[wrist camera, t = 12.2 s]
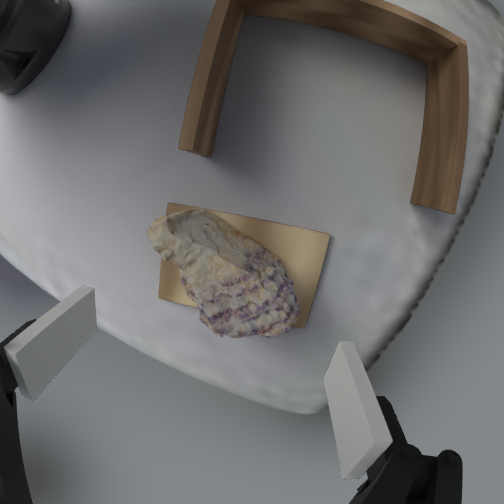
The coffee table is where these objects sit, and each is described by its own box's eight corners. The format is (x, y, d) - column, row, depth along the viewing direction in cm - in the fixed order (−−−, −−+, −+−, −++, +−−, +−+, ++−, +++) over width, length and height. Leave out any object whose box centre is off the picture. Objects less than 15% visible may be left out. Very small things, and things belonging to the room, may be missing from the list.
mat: (160, 295, 27) (158, 298, 26) (170, 202, 24) (167, 203, 24) (303, 325, 26) (304, 328, 26) (328, 233, 24) (330, 234, 23)
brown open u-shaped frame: (200, 154, 23) (177, 148, 17) (235, 6, 19) (227, -30, 13) (418, 205, 23) (454, 214, 17) (435, 60, 19) (466, 41, 13)
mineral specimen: (149, 260, 25) (116, 285, 19) (187, 194, 23) (159, 200, 17) (263, 335, 26) (260, 377, 20) (310, 277, 24) (322, 309, 18)
